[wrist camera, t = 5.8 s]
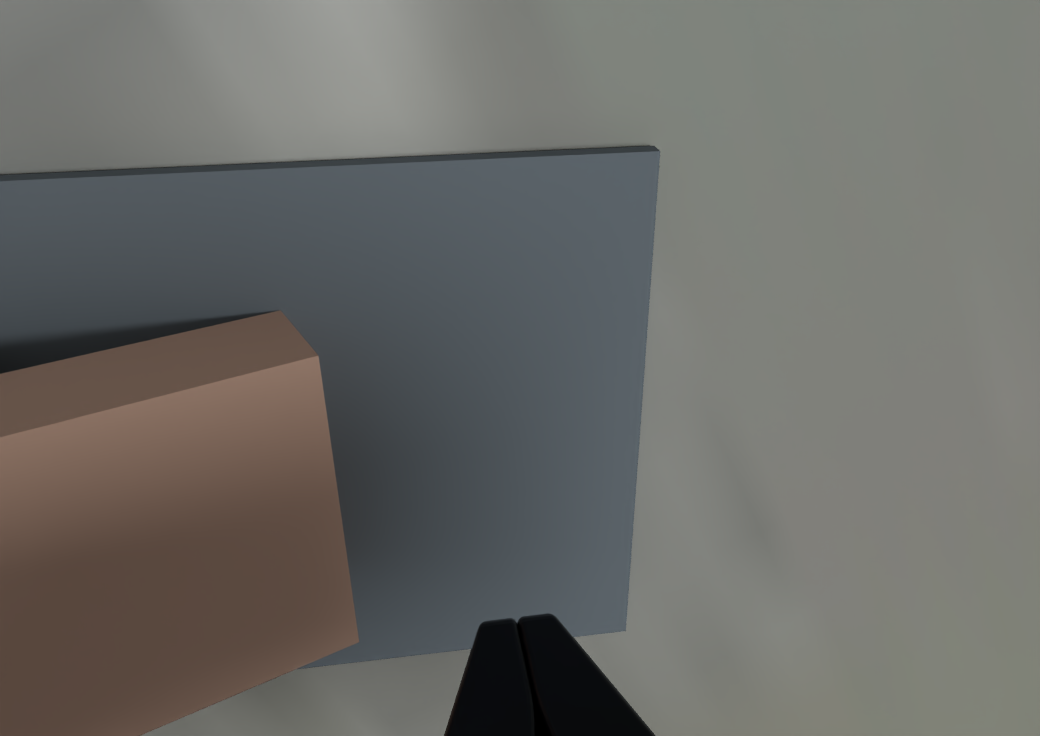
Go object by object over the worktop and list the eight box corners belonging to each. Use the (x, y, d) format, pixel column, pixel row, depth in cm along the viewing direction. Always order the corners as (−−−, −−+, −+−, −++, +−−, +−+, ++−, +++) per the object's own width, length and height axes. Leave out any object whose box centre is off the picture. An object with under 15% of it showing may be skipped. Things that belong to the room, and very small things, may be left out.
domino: (318, 355, 10) (-617, 595, 7) (359, 642, 13) (-319, 930, 9) (279, 310, 12) (-532, 494, 8) (324, 580, 14) (-288, 814, 10)
